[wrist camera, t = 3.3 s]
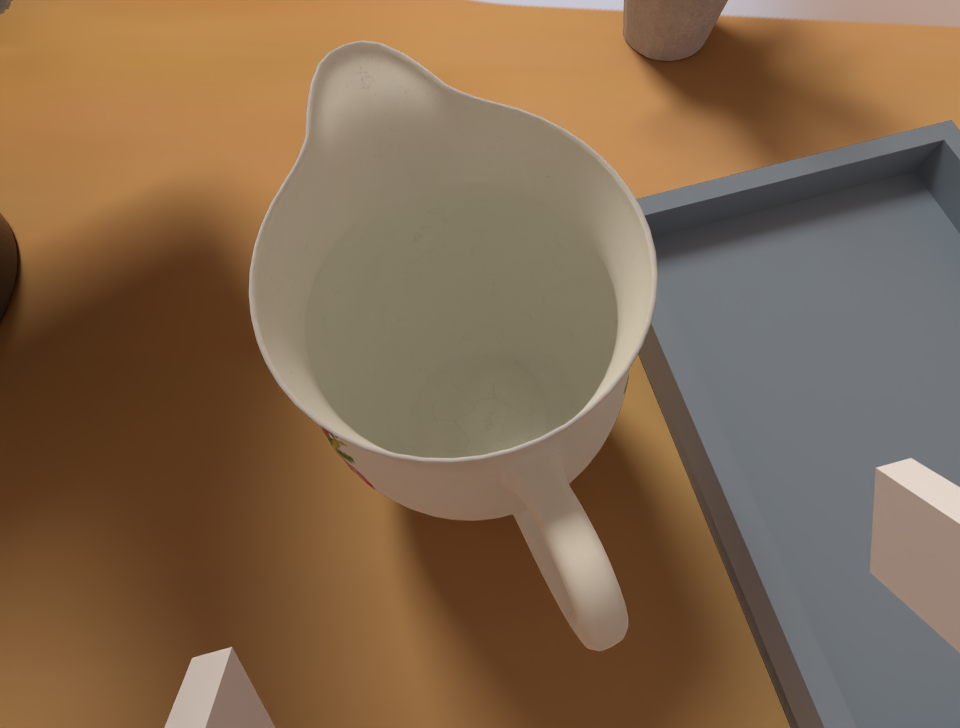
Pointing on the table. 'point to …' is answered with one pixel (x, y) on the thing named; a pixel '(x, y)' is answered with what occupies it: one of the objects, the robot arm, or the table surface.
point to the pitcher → (458, 307)
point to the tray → (817, 403)
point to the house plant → (669, 26)
